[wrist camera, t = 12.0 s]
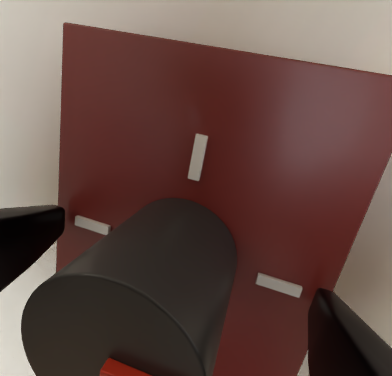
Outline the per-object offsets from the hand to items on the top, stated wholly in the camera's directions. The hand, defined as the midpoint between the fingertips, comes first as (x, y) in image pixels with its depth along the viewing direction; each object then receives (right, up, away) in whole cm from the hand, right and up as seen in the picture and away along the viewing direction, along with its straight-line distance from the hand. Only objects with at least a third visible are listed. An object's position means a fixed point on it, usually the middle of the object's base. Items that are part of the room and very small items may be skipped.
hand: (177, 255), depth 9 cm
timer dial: (0, 0, 0) cm, 0 cm away
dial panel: (+1, +1, +3) cm, 3 cm away
